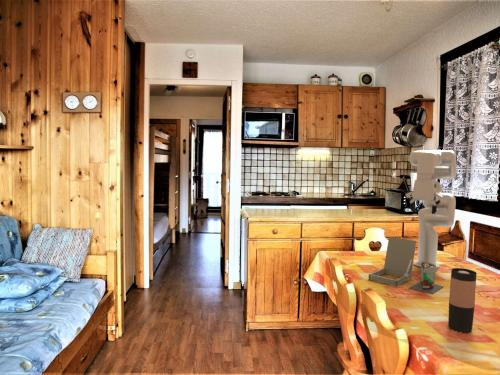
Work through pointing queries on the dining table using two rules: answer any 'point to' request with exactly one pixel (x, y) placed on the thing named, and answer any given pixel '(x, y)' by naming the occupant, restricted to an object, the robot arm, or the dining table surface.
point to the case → (397, 262)
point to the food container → (427, 275)
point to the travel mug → (462, 300)
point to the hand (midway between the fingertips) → (423, 212)
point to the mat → (431, 291)
